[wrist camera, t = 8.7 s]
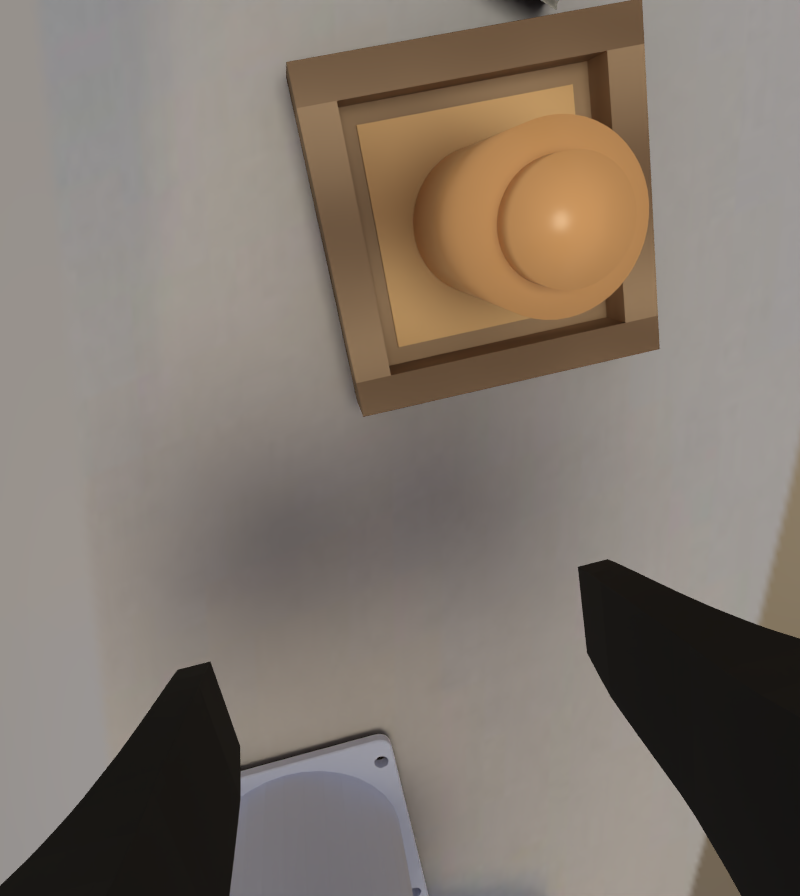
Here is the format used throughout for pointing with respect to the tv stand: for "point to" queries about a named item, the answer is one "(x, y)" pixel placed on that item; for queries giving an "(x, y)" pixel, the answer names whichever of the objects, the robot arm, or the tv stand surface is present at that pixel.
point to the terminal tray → (414, 156)
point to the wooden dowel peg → (536, 217)
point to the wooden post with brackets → (551, 3)
